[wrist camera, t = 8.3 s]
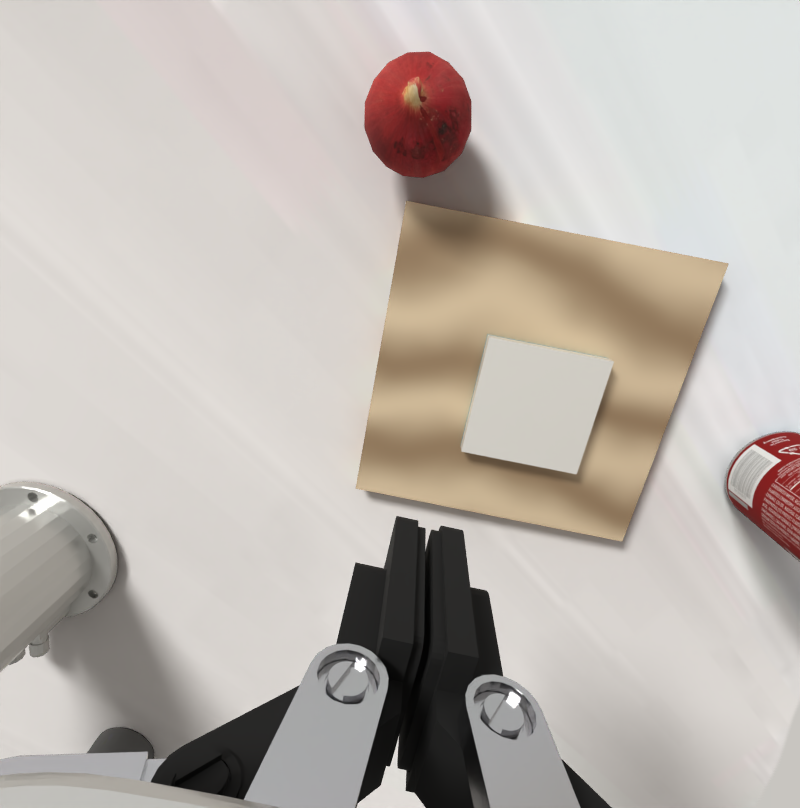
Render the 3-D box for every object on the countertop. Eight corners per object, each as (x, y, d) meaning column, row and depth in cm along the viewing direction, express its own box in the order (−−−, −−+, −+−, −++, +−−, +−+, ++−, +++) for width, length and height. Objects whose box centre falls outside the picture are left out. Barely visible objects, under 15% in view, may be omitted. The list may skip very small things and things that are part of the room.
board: (614, 530, 37) (622, 541, 36) (358, 479, 37) (355, 488, 36) (715, 262, 31) (728, 263, 30) (407, 202, 31) (406, 200, 30)
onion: (486, 135, 30) (505, 96, 22) (417, 205, 31) (413, 191, 24) (421, 56, 29) (417, -14, 21) (353, 133, 30) (327, 94, 23)
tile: (460, 444, 34) (571, 466, 34) (461, 451, 33) (576, 474, 33) (487, 333, 32) (607, 357, 32) (489, 337, 31) (613, 361, 31)
